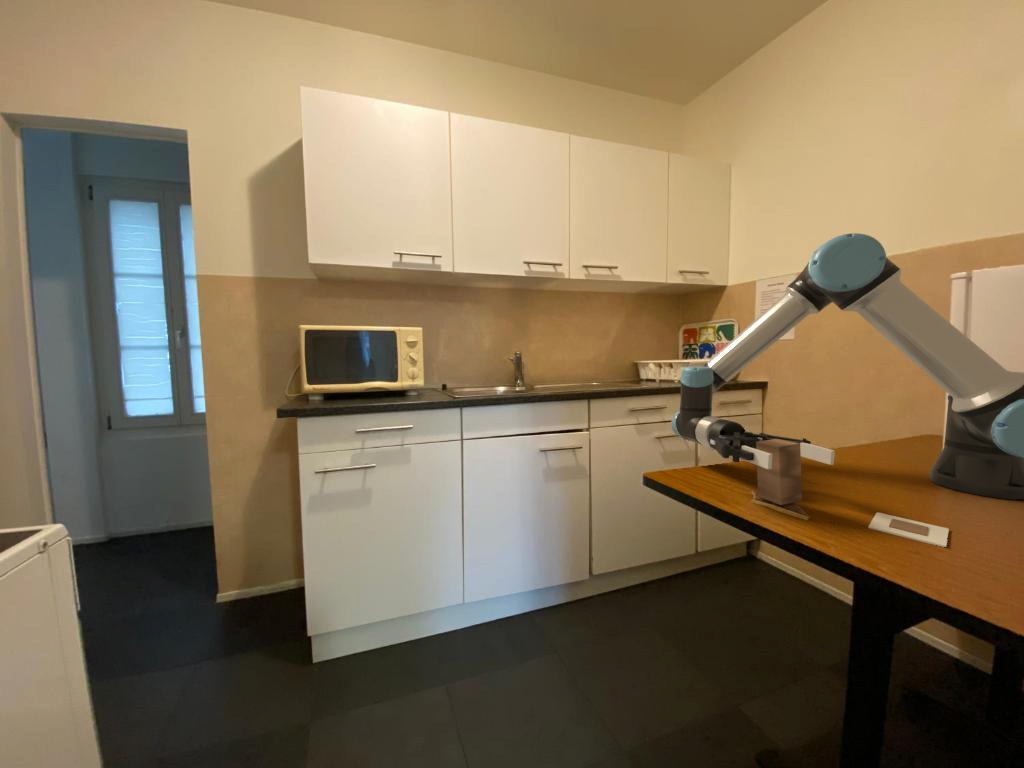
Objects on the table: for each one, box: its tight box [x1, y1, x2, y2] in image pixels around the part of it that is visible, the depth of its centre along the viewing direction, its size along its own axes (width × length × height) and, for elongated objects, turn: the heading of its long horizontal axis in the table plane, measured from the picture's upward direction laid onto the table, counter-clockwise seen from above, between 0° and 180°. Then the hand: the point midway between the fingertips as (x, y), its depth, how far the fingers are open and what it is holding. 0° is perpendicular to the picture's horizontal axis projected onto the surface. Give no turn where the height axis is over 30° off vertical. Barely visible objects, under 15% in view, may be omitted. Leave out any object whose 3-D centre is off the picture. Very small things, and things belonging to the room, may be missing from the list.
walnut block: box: [756, 439, 803, 505], centre depth 77 cm, size 5×5×11 cm
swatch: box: [867, 511, 950, 548], centre depth 68 cm, size 9×9×1 cm
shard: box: [751, 490, 811, 521], centre depth 77 cm, size 11×8×2 cm
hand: (802, 459), depth 74 cm, fingers open, 13 cm apart
